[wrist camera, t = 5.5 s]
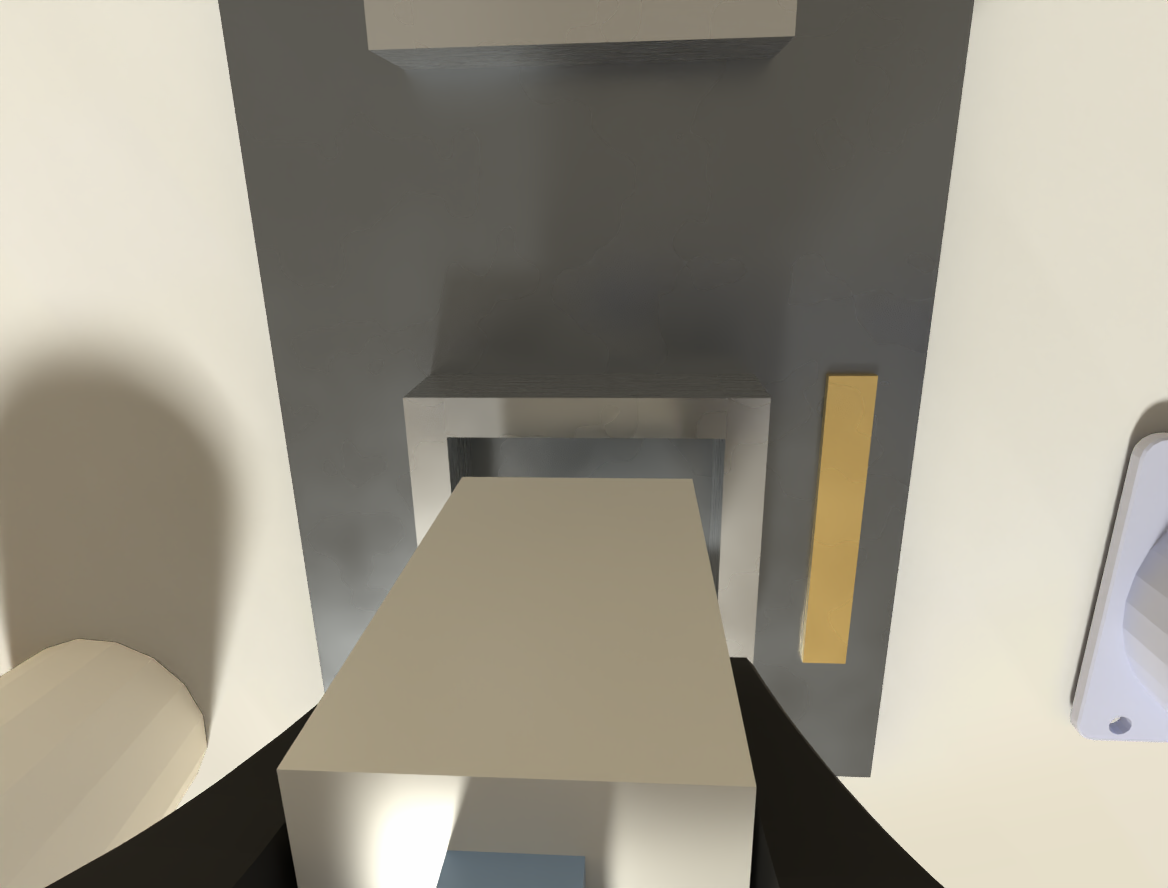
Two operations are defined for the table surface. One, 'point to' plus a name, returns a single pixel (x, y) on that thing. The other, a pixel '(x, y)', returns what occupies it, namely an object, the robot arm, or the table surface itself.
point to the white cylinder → (89, 756)
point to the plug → (534, 705)
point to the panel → (611, 287)
